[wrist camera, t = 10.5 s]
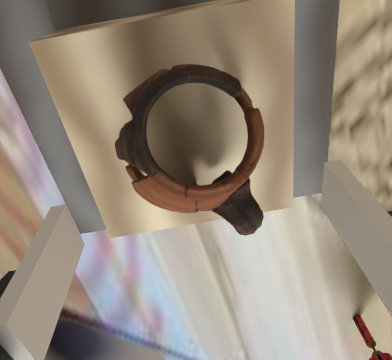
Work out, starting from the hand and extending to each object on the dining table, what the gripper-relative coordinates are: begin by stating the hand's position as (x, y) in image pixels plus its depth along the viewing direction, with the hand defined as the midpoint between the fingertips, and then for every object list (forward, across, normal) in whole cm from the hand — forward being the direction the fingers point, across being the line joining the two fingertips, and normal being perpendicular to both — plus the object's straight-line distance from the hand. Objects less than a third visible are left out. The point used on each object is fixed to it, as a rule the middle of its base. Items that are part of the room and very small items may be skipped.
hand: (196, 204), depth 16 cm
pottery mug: (+8, 0, 0) cm, 8 cm away
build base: (+14, +1, 0) cm, 15 cm away
